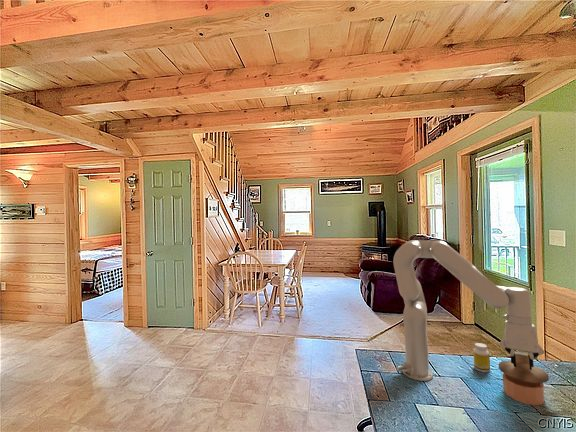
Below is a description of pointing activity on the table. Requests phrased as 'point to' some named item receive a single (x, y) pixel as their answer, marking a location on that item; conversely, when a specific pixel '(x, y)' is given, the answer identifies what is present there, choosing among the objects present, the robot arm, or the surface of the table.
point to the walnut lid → (523, 369)
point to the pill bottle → (481, 358)
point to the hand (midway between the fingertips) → (522, 366)
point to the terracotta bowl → (523, 390)
